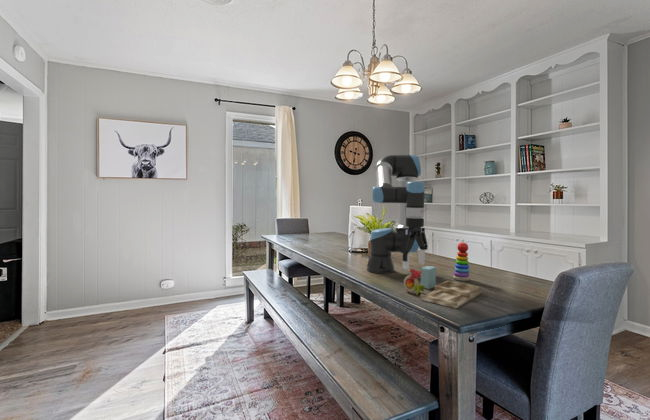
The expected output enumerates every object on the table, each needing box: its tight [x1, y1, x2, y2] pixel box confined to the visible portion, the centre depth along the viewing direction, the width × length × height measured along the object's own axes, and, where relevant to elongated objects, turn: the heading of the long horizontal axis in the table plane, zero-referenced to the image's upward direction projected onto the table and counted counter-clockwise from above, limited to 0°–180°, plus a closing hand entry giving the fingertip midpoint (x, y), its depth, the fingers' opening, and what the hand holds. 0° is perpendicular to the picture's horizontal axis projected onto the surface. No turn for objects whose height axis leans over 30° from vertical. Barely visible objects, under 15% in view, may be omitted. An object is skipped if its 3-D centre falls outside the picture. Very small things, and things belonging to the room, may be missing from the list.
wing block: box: [420, 265, 437, 290], centre depth 160 cm, size 4×7×9 cm, turn 137°
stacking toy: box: [452, 242, 471, 282], centre depth 173 cm, size 8×8×19 cm
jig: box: [419, 280, 482, 309], centre depth 145 cm, size 15×26×3 cm, turn 137°
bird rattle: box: [403, 268, 426, 296], centre depth 150 cm, size 6×11×9 cm
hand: (413, 266), depth 149 cm, fingers open, 13 cm apart
